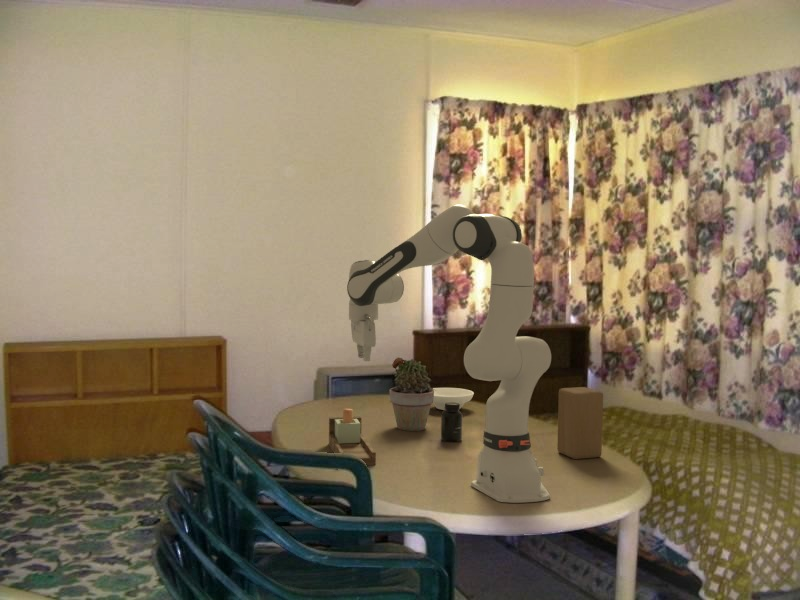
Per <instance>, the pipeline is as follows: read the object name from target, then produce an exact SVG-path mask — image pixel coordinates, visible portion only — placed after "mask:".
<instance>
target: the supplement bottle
mask: <svg viewBox="0 0 800 600" xmlns="http://www.w3.org/2000/svg"><path fill="white" fill-rule="evenodd" d="M440 417H441V420H440V421H441V422H440V423H441V425H440V438H441V440H442V441H444V442H449V443H457V442H460V441H462V440H463V439H462V438H463V436H462V435H463V413H462V412H461V411H460V404H459V403H455V402H448V403H445V410H443V411H442V412H441V416H440Z"/></svg>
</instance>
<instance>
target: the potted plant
mask: <svg viewBox="0 0 800 600" xmlns="http://www.w3.org/2000/svg"><path fill="white" fill-rule="evenodd" d="M421 363H422V361H420V360H419V361H417V360H415V359H414V358H411V359H409V360H406V359H403V357H397V358H395V359H393V362H392V363H391V364H392V368H393V369H395V371H394V372H392V374H393V373H396V374H395V375H394V377H395V379H394V380H393V381H392V382H394V383H391V384H392V385H393V384H395V386H394V387H392V388H390V389H386V390H387V391H388V390H389V391H388V392H389V401H390V403H391V404H392V409H393V412H394V418H395V422H396V426H397V429H399V430H400V431H409V432H416V431H423V430H425V429H426V427H427V423H428V418H429V416H430V415H429V414H430V411H431V406H432V404H433V399H434V390H433V388H434V387H432V386H431V384H432V383H430V382H433V383H435V381H434V380H432V379H431V378H430V377H428V375H429V376H433V375H431V374H429V373H428V372H427V371H426V368H427V366H426V365H422V364H421ZM397 368H398V369H397ZM432 385H433V384H432ZM435 391H436V390H435Z"/></svg>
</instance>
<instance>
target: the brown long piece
mask: <svg viewBox="0 0 800 600" xmlns="http://www.w3.org/2000/svg"><path fill="white" fill-rule="evenodd" d="M335 419H343V416H337V417H335V416H334V417H328V445H329V447H330V449H331V451H332V452H335V453H342V454H344V453H345V454H351V455H354V456H357V457H358V458H360V459H362V460H363V461H364V462H365V463H366V464H367V465H366V466H374V465H376V464H377V461H376V459H377V457H376V456H377V454H376V453H377V452H376V451H375V450H374V448H373V447H372V446H371V444H370V443H369V441H367V439H366V438H365V436H364V435H363V434H362V432H361V433H360V443H341V444H338V442H337V440H336V439H335ZM353 419H358V421H359V422H360V423H361V424H362V417H361V415H360V416H353Z"/></svg>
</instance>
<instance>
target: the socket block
mask: <svg viewBox="0 0 800 600" xmlns="http://www.w3.org/2000/svg"><path fill="white" fill-rule="evenodd" d="M360 433H361V434H362V422H361V423H360V422H359V421H358V419H353V423H343V419H335V439H336V440H337V442H338V444H341V443H360Z"/></svg>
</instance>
